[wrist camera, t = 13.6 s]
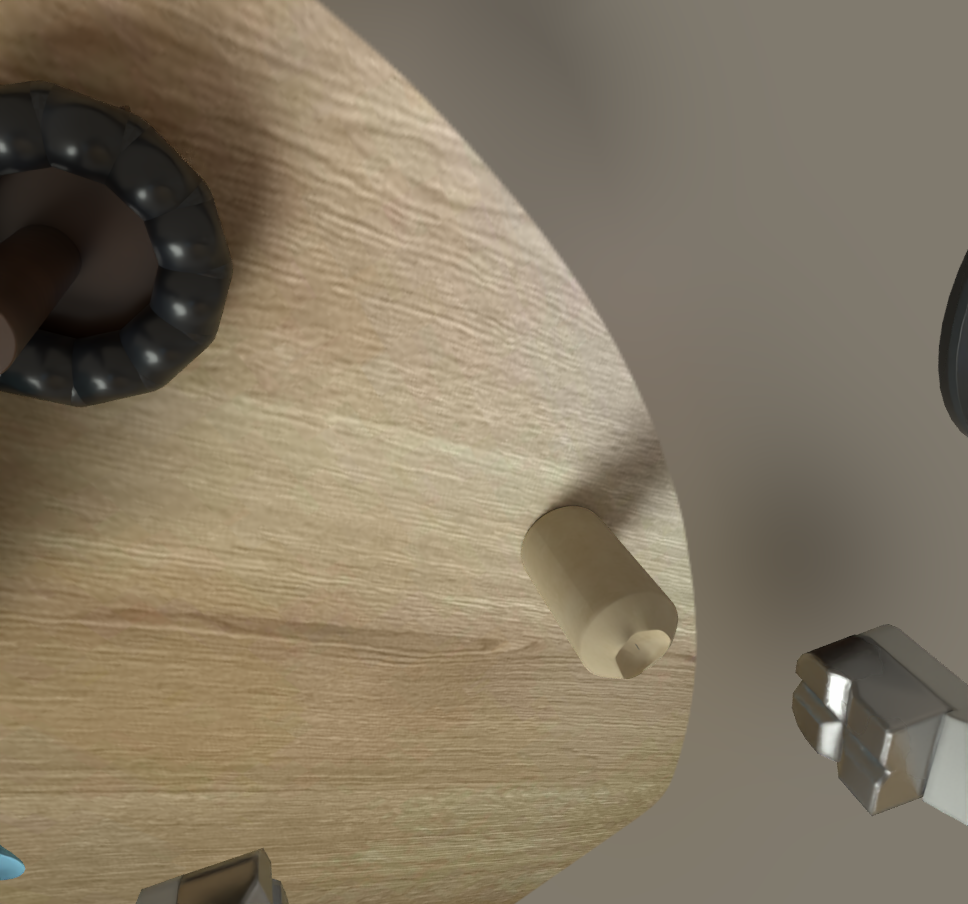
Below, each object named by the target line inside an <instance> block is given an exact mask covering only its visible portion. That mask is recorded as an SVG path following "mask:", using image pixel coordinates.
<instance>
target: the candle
mask: <svg viewBox="0 0 968 904" xmlns="http://www.w3.org/2000/svg"><path fill="white" fill-rule="evenodd" d="M521 558H522V562H523V565H524V568H525V570H526V572H527V574H528V575H529V577H530V579H531V580H532V582H533V584H534V585H535V587H536V589H537V590H538V592H539V593H540V595H541V597H542V598H543V600H544V602H545V603H546V605H547V606H548V608H549V610H550V611H551V613H552V615H553V616H554V618H555V619H556V621H557V623H558V624H559V626H560V627H561V629H562V631H563V632H564V634H565V636H566V637H567V639H568V640H569V642H570V644H571V645H572V647H573V649H574V650H575V652H576V653H577V655H578V657H579V658H580V660H581V662H582V663H583V665H584V666H585V668H586V669H587V670H588V671H589V672H591V673H592V674H594V675H597V676H599V677H603V678H621V679H630V678H633V677H636V676H638V675H640V674H641V673H642V672H643V671H645V670H647V669H648V668H650V667H651V666H653V665H654V664H655V663H656V662H658V661H659V660H660V659H661V658H662V657H663V655H664V654H665V653H666V652H667V650H668V649H669V647H670V645H671V643H672V641H673V638H674V635H675V632H676V629H677V623H678V615H677V610H676V607H675V606H674V604H673V602H672V601H671V600H670V599H669V598H668V596H667V595H666V594H665V593H664V592H663V591H662V590H661V588H660V587H659V586H658V585H657V584H656V583H655V581H654V580H653V579H652V578H651V577H650V576H649V574H648V573H647V572H646V571H645V570H644V569H643V567H642V566H641V565H640V564H639V563H638V562H637V560H636V559H635V558H634V557H633V556H632V555H631V554H630V552H629V551H628V550H627V549H626V548H625V547H624V545H623V544H622V543H621V542H620V541H619V540H618V538H617V537H616V536H615V535H614V534H613V533H612V531H611V530H610V529H609V528H608V527H607V526H606V524H605V523H604V522H603V521H602V520H601V519H600V518H599V517H598V516H597V515H596V514H595V513H593V512H592V511H590V510H588V509H586V508H583V507H579V506H567V507H562V508H558V509H555V510H553V511H551V512H549V513H547V514H546V515H544V516H543V517H541V518H540V519H539V520H538V521H537V522H536V523H535V524H534V525H533V526H532V527H531V528H530V529H529V531H528V533H527V534H526V536H525V538H524V541H523V544H522V549H521Z"/></svg>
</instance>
